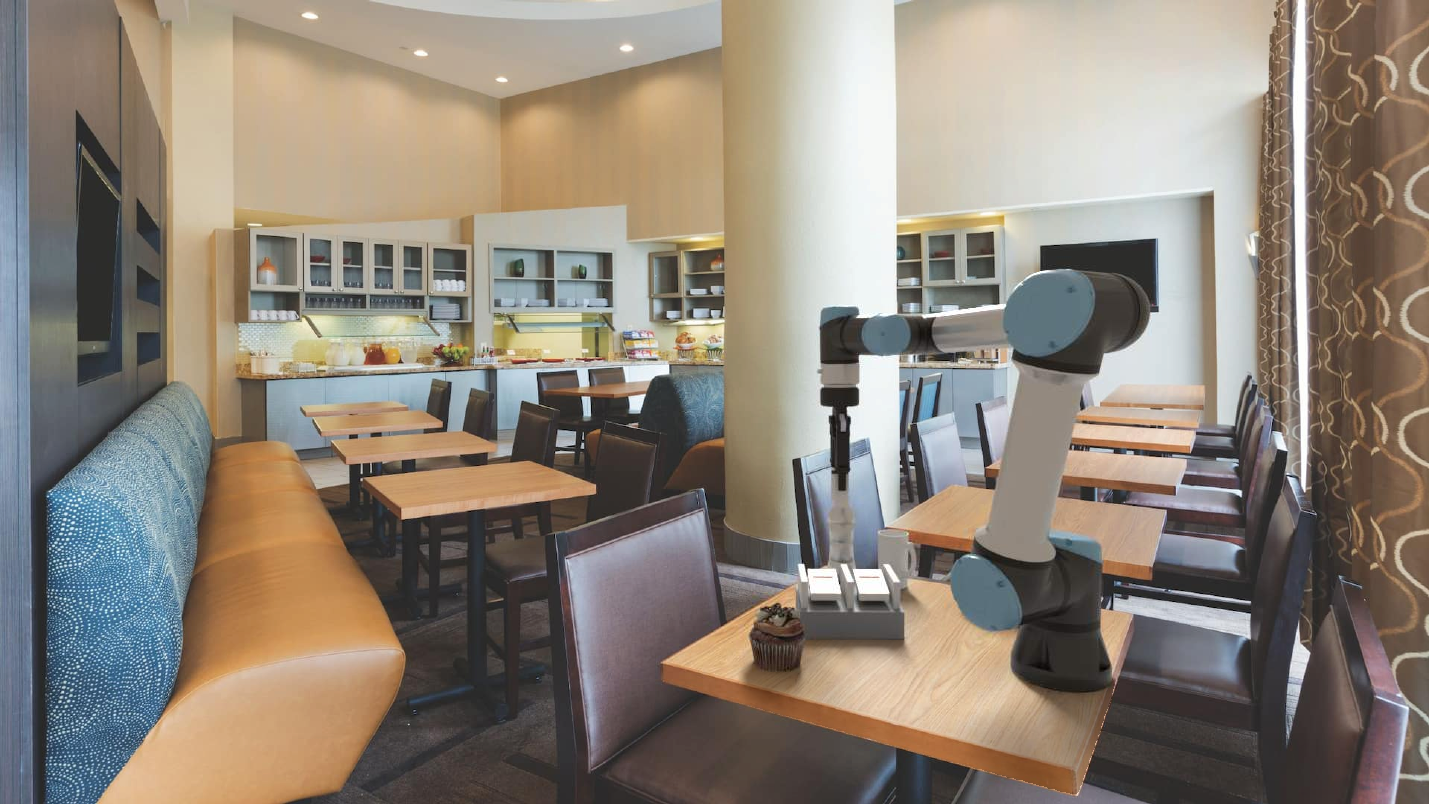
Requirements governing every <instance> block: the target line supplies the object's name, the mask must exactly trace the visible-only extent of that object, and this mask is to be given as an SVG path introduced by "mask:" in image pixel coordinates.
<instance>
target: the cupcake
mask: <svg viewBox="0 0 1429 804" xmlns="http://www.w3.org/2000/svg"><path fill="white" fill-rule="evenodd" d="M755 616H756V619H754V621H753V627H752V628H751V630H750V631H749V632H748V638H749V642H750V647H751V651H752V656H753V663H754V665H756V667H757V668H759V669H763V670H766V671H769V672H776V671H778V672H779V673H780V672H781V671H782V672H788V671H787V670H789V671H793V670H795V669H797V668H798V667H799V666H800V665H801V660H802V655H803V649H804V644H805V642H806V638H805V633H804V628H803V624H802V621H801V620H800V618H799V610H798V609H796V607H794V606H792V607H791V606H788V607H787V606H784V607H783V608H782V604H781V603H780V602H776V603H774V604H773V605H772V606H768V605H765V606H763V607H760V608H759V610H758V611H757V612H755ZM782 672H781V673H782Z"/></svg>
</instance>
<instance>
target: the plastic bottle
mask: <svg viewBox="0 0 1429 804" xmlns="http://www.w3.org/2000/svg"><path fill="white" fill-rule="evenodd" d="M832 503H834V501H832ZM850 503H851V499H849V504H850ZM826 517H827V525H828V532H829V552H828V553H829V556H828V563H827V568H826V569H835V570H836V574H837V579H838V582H840V564H847V567H848V569H849V571H850V574H851V576H852V578H853V569H857V567H856V561H855V553H854V533H855V526H856V514H855V513H854V511H853V509H852V507H851V506H850V505H849V507H834V504H833V505H832V507H831V508H830V509H829V511H828V512H827V516H826ZM853 579H854V578H853Z"/></svg>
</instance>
